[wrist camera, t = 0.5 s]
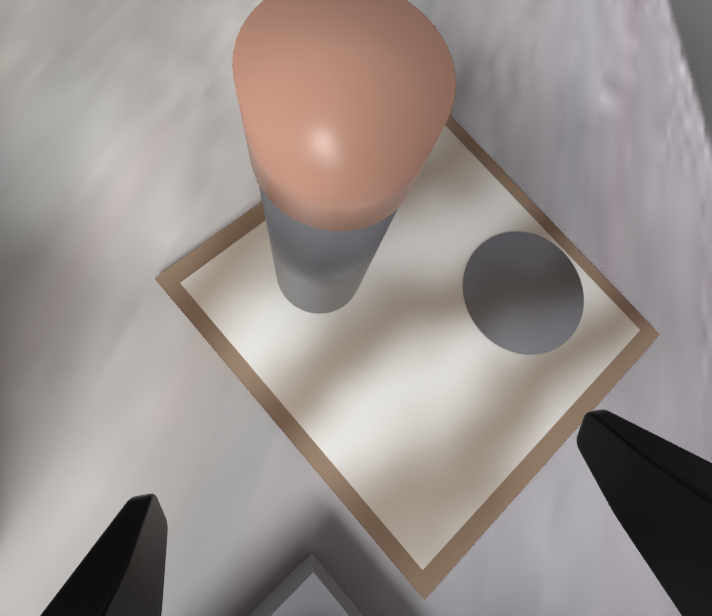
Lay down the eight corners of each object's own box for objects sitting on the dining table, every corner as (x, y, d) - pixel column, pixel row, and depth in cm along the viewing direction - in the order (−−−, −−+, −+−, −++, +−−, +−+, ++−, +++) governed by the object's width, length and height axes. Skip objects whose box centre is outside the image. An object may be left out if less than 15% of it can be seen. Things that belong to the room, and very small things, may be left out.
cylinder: (380, 278, 23) (499, 90, 9) (314, 333, 22) (337, 214, 8) (323, 215, 23) (356, -55, 9) (256, 266, 22) (183, 45, 8)
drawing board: (652, 335, 25) (662, 333, 24) (421, 595, 20) (425, 601, 19) (420, 92, 26) (423, 84, 26) (157, 281, 22) (153, 277, 21)
